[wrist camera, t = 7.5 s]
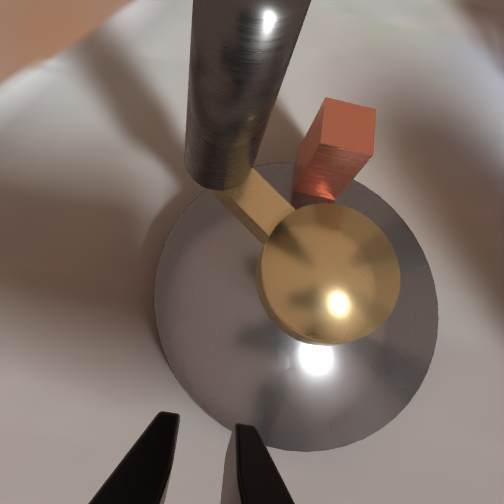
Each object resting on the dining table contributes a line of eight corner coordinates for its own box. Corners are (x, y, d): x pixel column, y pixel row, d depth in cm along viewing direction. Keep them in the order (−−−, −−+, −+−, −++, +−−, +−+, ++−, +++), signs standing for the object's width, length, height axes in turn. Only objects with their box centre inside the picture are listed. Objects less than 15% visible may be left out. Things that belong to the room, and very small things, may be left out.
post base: (422, 468, 18) (510, 493, 14) (123, 424, 17) (106, 434, 12) (428, 192, 22) (496, 138, 18) (188, 139, 21) (192, 65, 16)
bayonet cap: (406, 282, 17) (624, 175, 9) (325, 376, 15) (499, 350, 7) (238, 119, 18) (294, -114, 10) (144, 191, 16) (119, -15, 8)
